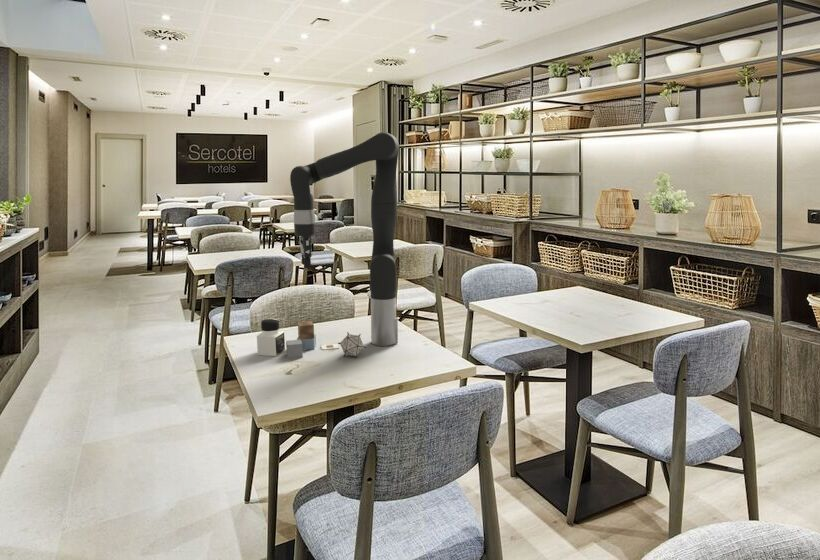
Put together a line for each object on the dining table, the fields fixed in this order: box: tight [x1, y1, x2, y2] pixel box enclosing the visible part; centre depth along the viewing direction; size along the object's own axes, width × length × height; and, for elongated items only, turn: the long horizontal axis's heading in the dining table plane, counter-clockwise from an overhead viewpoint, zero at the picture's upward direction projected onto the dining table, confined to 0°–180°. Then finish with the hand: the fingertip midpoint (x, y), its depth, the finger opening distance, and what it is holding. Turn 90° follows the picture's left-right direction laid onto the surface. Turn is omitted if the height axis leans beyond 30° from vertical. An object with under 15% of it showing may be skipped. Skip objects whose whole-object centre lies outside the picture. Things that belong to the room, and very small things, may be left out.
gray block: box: [285, 339, 304, 360], centre depth 194 cm, size 5×5×5 cm
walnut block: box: [297, 320, 315, 340], centre depth 203 cm, size 5×5×5 cm
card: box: [320, 343, 340, 351], centre depth 204 cm, size 6×4×1 cm
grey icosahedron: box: [337, 332, 367, 359], centre depth 193 cm, size 9×8×10 cm
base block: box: [296, 333, 317, 351], centre depth 204 cm, size 6×6×4 cm
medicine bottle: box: [256, 317, 286, 357], centre depth 197 cm, size 7×7×12 cm
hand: (306, 266), depth 208 cm, fingers open, 8 cm apart
